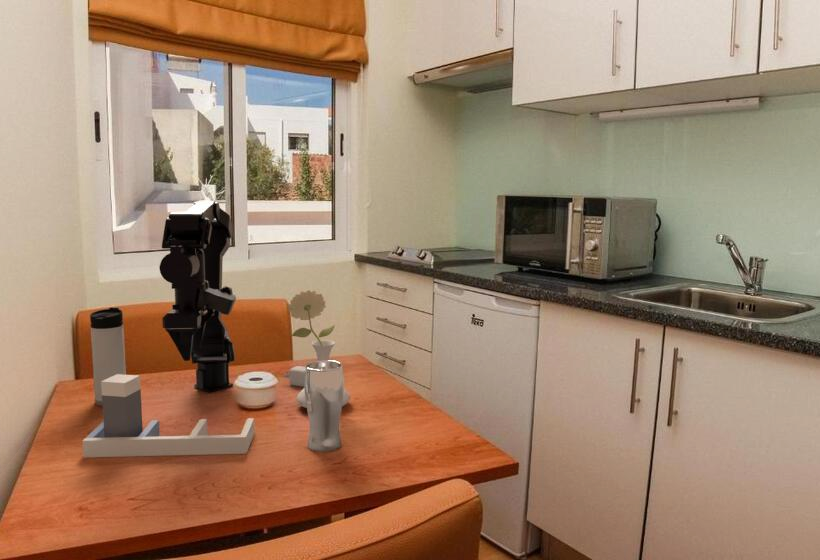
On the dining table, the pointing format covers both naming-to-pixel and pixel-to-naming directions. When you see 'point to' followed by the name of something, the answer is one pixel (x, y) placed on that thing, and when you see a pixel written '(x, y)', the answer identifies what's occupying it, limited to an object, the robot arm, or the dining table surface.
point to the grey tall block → (122, 406)
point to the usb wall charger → (296, 376)
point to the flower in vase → (305, 309)
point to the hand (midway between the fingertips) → (192, 354)
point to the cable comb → (168, 442)
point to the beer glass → (324, 403)
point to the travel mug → (107, 347)
